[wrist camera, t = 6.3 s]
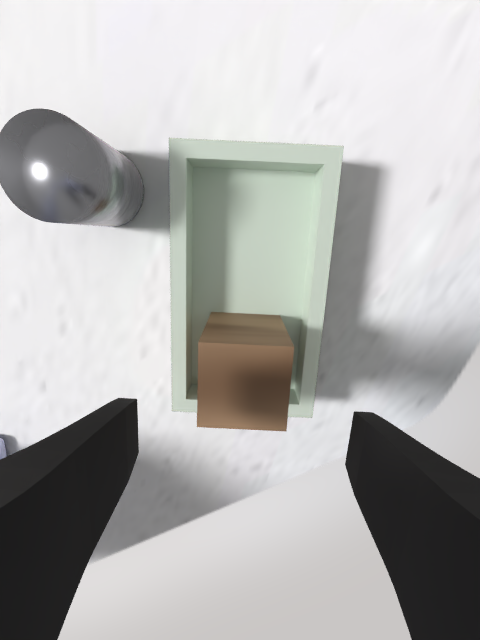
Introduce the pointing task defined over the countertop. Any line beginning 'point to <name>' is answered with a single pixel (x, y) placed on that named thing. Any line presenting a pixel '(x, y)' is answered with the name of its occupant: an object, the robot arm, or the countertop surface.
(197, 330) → the tray
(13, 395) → the countertop surface
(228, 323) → the walnut block
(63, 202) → the steel cylinder
